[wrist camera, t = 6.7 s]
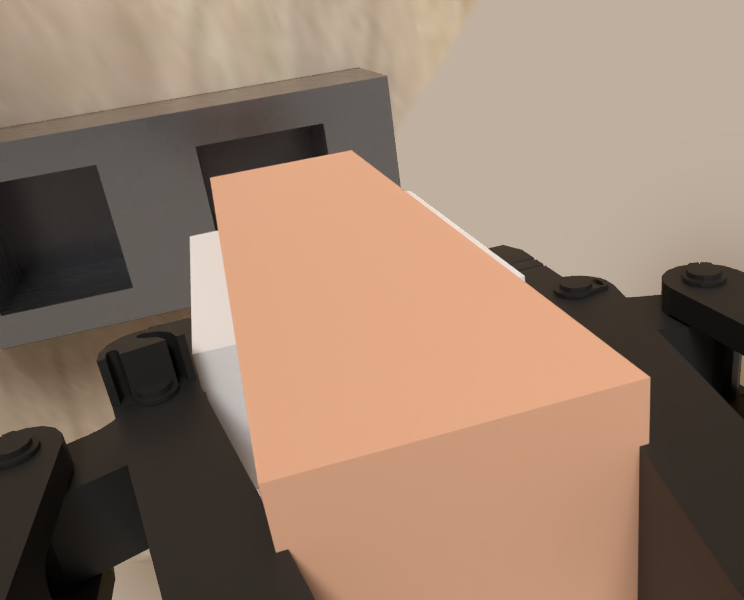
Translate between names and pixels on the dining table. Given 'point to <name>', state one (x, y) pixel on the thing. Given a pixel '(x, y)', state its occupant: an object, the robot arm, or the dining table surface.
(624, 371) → the terracotta peg
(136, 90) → the dining table surface
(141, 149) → the grey peg hole block
